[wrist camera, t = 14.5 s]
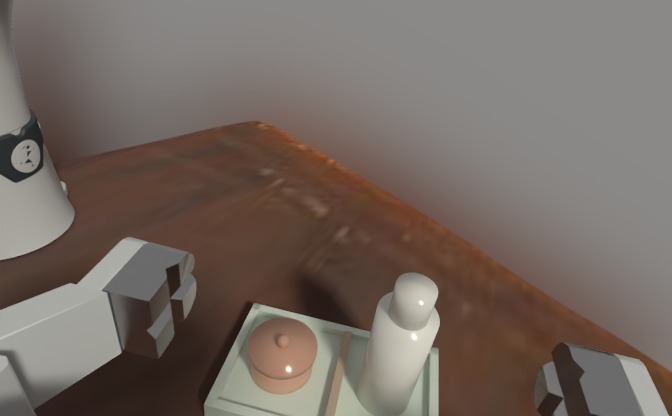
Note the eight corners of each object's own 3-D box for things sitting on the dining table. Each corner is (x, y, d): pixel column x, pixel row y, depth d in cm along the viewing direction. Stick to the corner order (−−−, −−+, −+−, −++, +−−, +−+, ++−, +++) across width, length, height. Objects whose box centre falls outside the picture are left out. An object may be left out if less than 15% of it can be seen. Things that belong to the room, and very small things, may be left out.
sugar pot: (236, 394, 40) (236, 357, 36) (260, 339, 45) (262, 303, 42) (303, 412, 39) (309, 376, 36) (319, 354, 44) (325, 318, 41)
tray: (204, 417, 37) (203, 403, 36) (253, 315, 47) (253, 301, 46) (431, 480, 36) (438, 467, 34) (433, 360, 45) (438, 347, 44)
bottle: (352, 410, 38) (380, 304, 30) (360, 363, 42) (387, 259, 34) (407, 424, 38) (451, 320, 30) (410, 375, 42) (449, 272, 34)
